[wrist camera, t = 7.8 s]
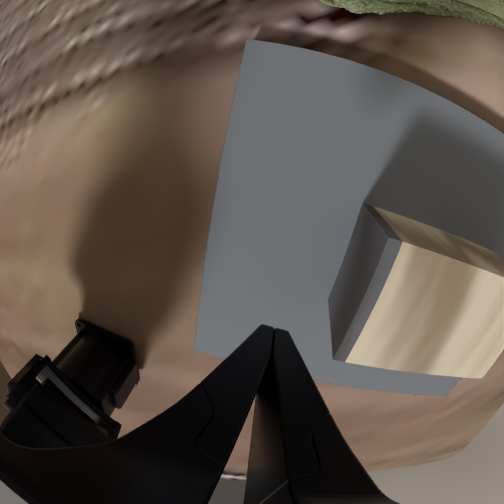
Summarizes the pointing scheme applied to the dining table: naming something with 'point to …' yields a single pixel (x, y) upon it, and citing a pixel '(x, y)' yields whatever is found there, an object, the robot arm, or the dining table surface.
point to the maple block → (416, 299)
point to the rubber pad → (333, 197)
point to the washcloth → (430, 8)
